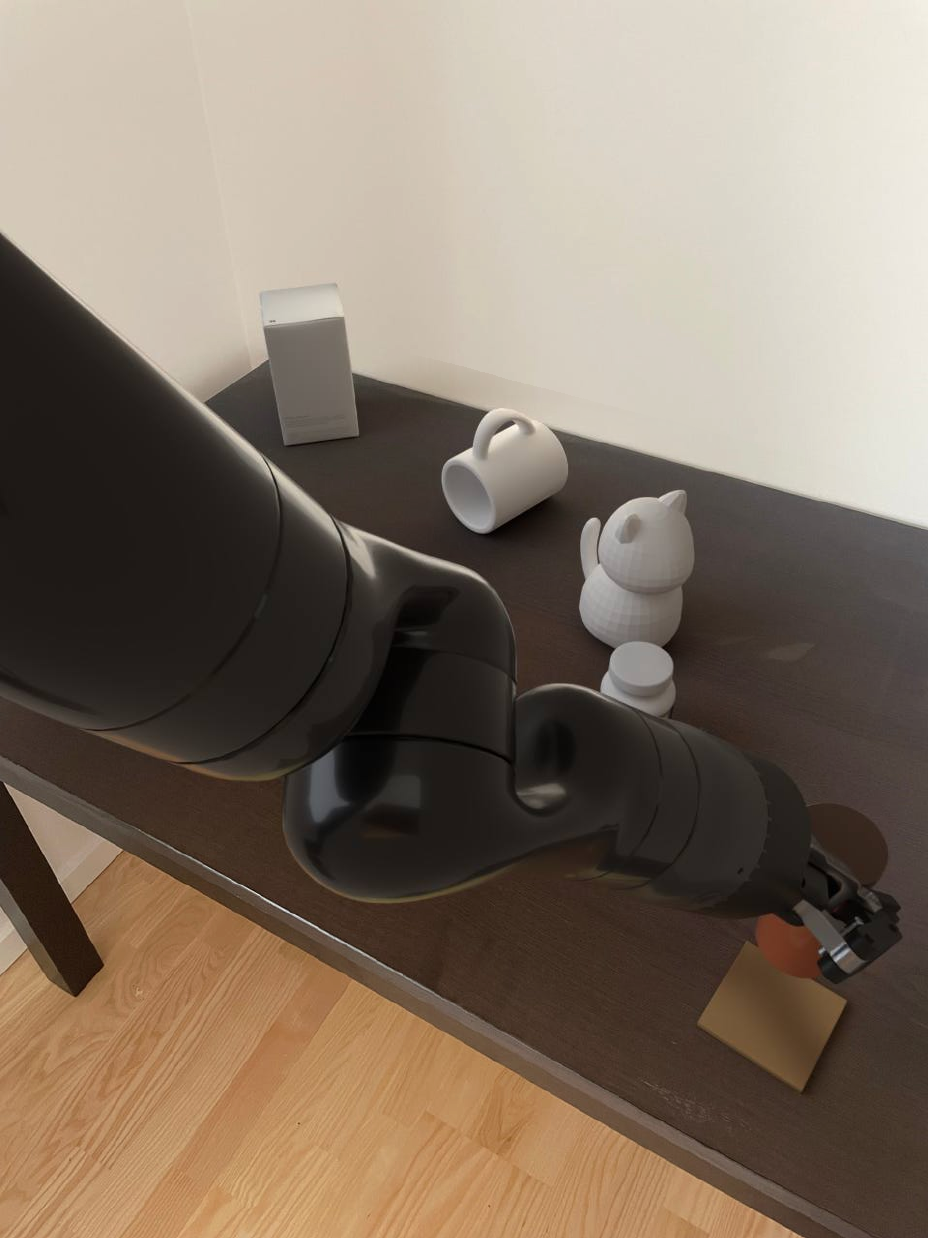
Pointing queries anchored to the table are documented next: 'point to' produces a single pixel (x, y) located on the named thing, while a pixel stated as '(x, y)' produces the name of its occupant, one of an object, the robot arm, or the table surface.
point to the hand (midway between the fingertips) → (847, 871)
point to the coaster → (772, 1017)
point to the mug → (504, 471)
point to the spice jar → (847, 841)
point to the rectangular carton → (310, 363)
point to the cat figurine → (637, 571)
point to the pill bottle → (641, 678)
